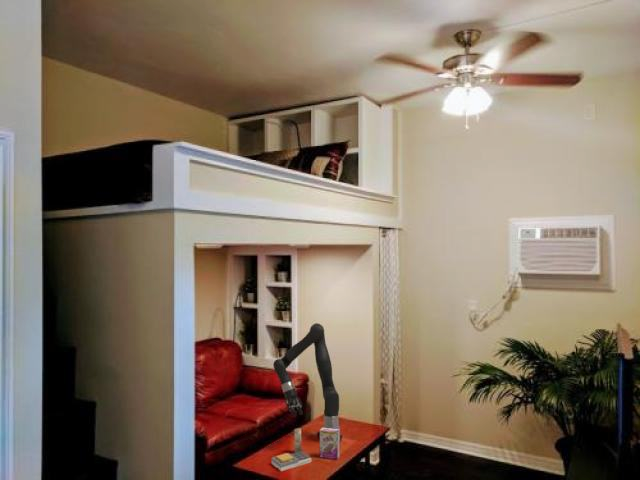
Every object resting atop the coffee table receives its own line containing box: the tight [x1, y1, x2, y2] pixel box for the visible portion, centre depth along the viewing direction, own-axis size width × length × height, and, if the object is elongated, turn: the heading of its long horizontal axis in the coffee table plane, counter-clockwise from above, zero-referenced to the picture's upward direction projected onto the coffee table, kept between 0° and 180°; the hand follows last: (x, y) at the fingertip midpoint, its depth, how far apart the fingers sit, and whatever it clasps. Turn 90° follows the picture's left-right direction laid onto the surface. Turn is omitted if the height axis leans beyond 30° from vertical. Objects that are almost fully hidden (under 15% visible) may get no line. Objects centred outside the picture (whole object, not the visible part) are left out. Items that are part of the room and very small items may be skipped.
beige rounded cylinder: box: [292, 427, 303, 454], centre depth 296 cm, size 6×6×14 cm
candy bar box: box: [319, 427, 340, 461], centre depth 289 cm, size 11×5×16 cm, turn 74°
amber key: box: [275, 452, 293, 463], centre depth 280 cm, size 7×7×1 cm
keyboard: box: [271, 450, 312, 472], centre depth 282 cm, size 20×11×4 cm, turn 124°
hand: (298, 415), depth 301 cm, fingers open, 8 cm apart
